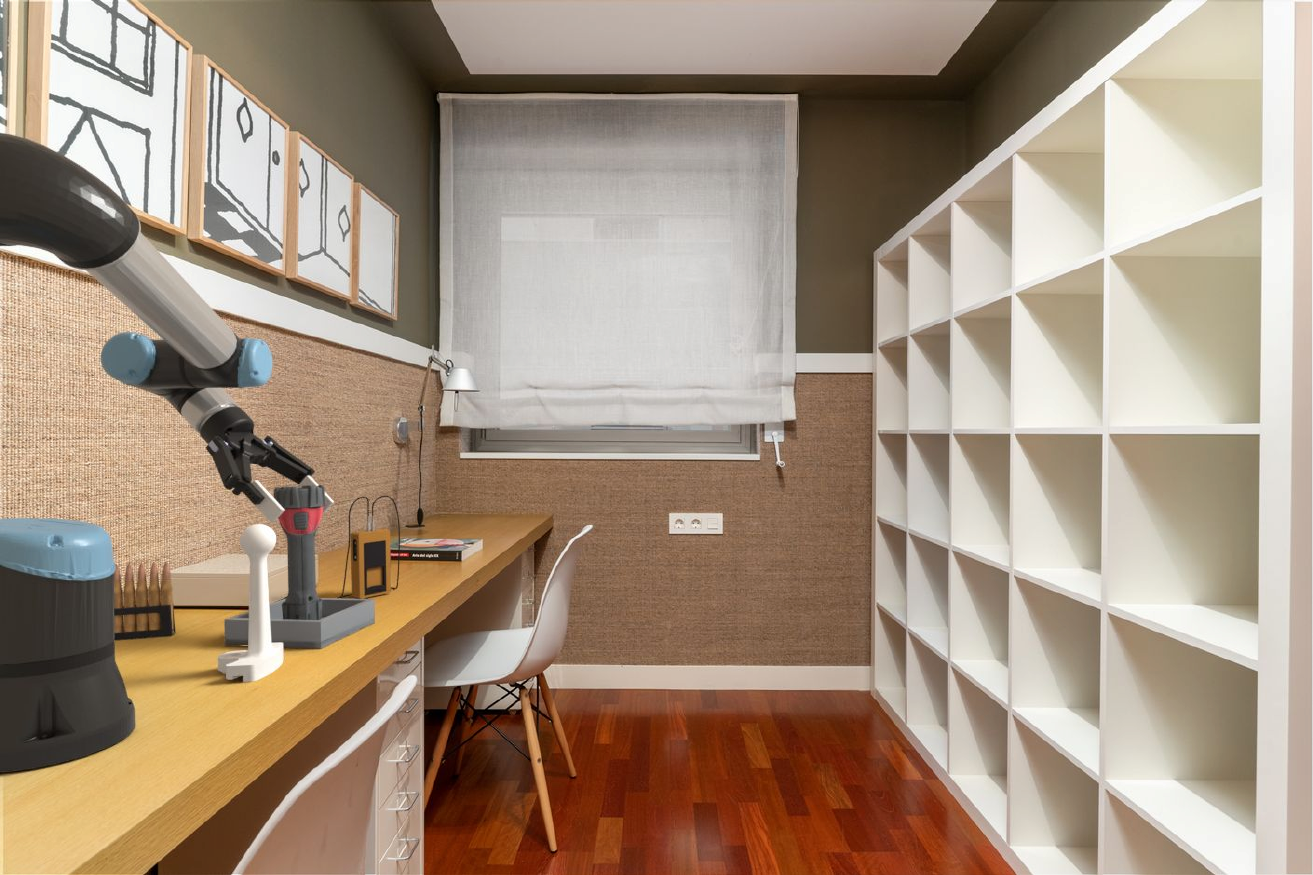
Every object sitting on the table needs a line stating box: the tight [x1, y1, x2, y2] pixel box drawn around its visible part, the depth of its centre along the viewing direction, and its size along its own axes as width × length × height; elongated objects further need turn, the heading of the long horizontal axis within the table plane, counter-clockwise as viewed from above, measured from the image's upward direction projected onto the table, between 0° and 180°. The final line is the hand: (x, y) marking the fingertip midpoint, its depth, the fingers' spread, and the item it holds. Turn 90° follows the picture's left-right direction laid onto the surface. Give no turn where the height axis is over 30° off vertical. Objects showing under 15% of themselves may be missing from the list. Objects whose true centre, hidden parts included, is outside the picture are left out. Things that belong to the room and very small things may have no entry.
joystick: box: [217, 523, 284, 683], centre depth 107 cm, size 11×8×20 cm
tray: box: [223, 597, 376, 650], centre depth 127 cm, size 16×16×4 cm
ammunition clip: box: [114, 561, 177, 642], centre depth 126 cm, size 11×2×12 cm, turn 107°
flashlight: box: [273, 484, 326, 620], centre depth 127 cm, size 8×8×23 cm
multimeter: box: [337, 495, 401, 599], centre depth 157 cm, size 15×10×20 cm
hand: (304, 512), depth 127 cm, fingers open, 13 cm apart
